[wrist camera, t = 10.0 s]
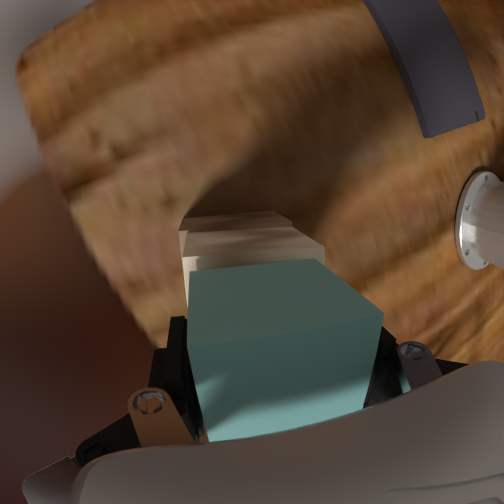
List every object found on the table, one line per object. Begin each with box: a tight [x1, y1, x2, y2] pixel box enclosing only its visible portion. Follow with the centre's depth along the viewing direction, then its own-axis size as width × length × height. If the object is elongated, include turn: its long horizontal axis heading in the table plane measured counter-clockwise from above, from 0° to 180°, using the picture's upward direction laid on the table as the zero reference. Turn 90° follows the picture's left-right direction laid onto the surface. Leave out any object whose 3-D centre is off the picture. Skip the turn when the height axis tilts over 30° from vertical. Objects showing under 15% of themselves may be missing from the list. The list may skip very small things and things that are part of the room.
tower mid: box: [182, 227, 325, 306], centre depth 16 cm, size 6×6×5 cm
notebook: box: [363, 0, 485, 138], centre depth 20 cm, size 13×2×21 cm
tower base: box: [178, 211, 293, 281], centre depth 21 cm, size 7×7×5 cm
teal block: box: [187, 258, 384, 442], centre depth 10 cm, size 6×6×6 cm
